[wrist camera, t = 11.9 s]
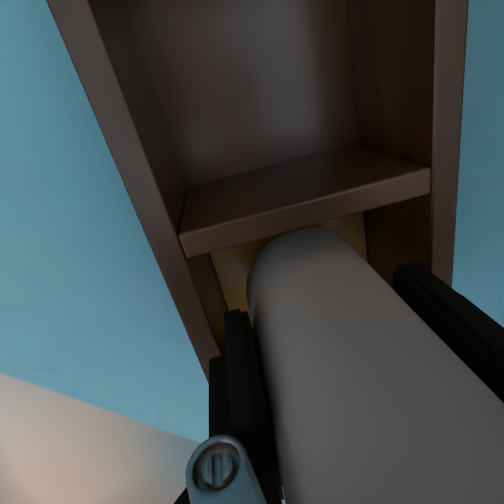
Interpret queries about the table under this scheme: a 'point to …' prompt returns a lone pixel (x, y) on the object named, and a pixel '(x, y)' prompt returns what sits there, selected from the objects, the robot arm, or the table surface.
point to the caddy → (275, 131)
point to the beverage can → (365, 385)
